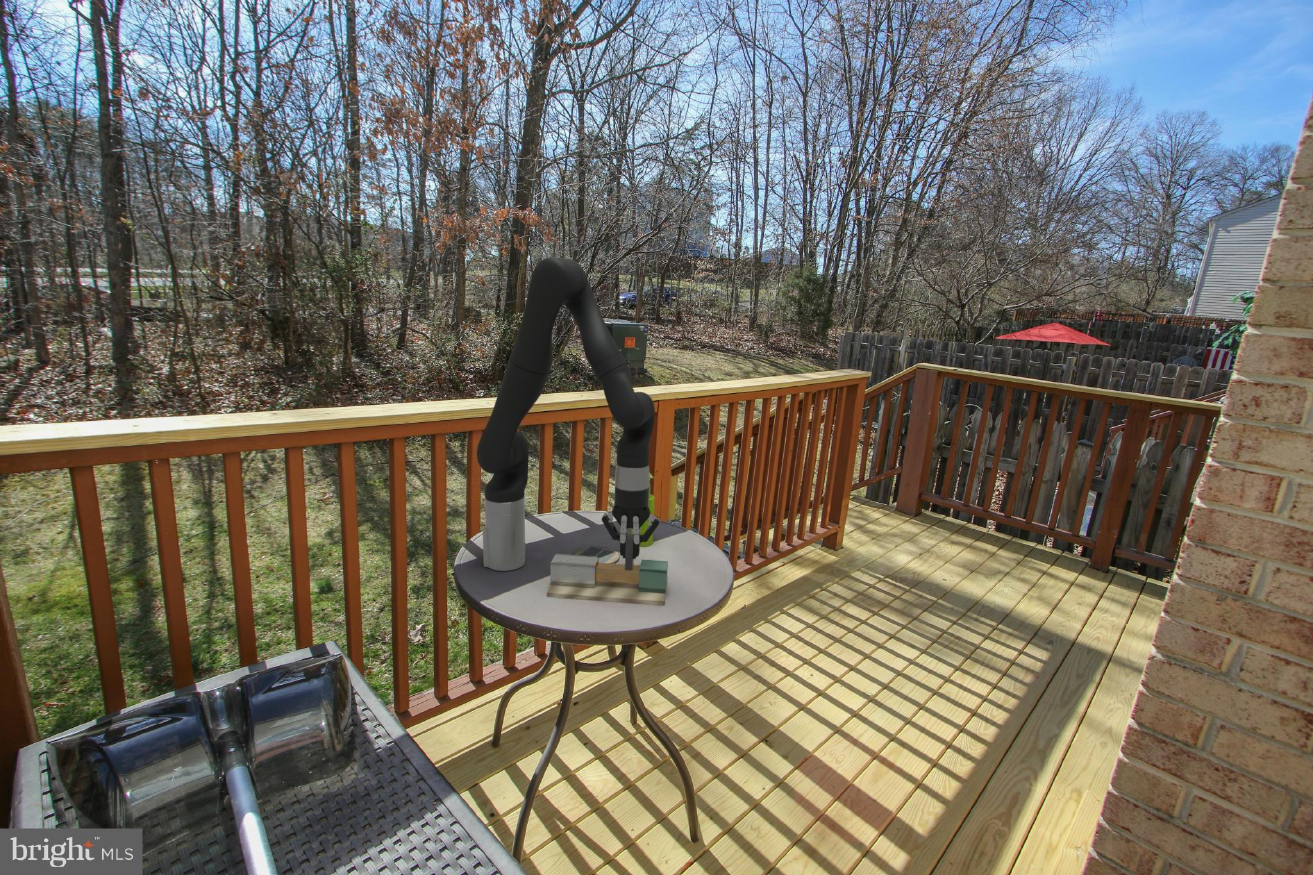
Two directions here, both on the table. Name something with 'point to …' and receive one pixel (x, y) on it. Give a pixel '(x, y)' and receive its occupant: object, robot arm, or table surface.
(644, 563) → the socket block
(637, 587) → the base board
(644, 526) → the soap dispenser
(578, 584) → the outer sleeve
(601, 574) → the inner bar
